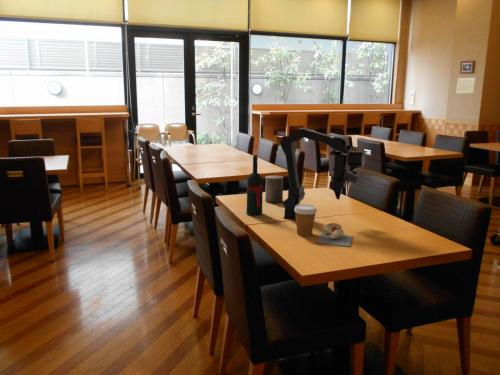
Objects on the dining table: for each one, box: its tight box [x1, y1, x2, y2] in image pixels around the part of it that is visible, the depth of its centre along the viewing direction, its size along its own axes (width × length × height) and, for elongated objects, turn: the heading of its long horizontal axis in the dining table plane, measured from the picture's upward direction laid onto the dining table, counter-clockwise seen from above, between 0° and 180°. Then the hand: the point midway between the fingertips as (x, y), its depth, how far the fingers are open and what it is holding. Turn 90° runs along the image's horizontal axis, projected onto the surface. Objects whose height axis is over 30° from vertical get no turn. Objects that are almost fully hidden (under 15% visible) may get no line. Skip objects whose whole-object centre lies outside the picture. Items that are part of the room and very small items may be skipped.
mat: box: [316, 232, 353, 248], centre depth 181 cm, size 13×13×1 cm
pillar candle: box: [264, 174, 284, 204], centre depth 242 cm, size 10×10×15 cm
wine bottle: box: [246, 152, 264, 217], centre depth 214 cm, size 8×10×30 cm
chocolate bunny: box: [322, 222, 345, 239], centre depth 183 cm, size 6×8×10 cm
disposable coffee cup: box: [294, 203, 318, 237], centre depth 187 cm, size 10×10×12 cm
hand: (338, 199), depth 200 cm, fingers closed
